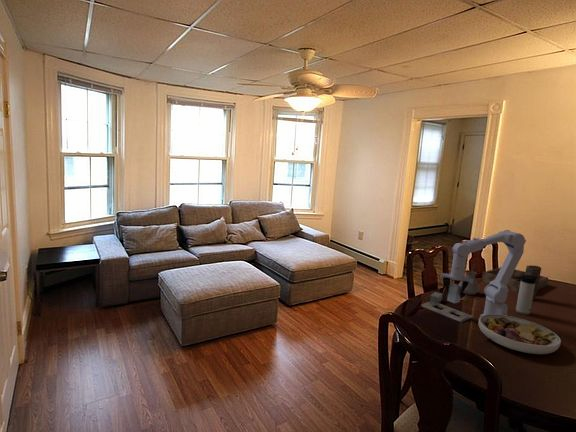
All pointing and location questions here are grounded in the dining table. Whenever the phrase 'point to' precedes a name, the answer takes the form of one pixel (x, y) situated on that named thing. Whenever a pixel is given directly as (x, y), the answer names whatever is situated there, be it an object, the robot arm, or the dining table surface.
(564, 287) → the dining table surface
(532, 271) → the dark grey canister
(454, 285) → the plug
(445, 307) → the panel
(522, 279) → the travel mug
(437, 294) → the plug
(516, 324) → the bowl
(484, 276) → the stereo stand
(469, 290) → the coffee pot
